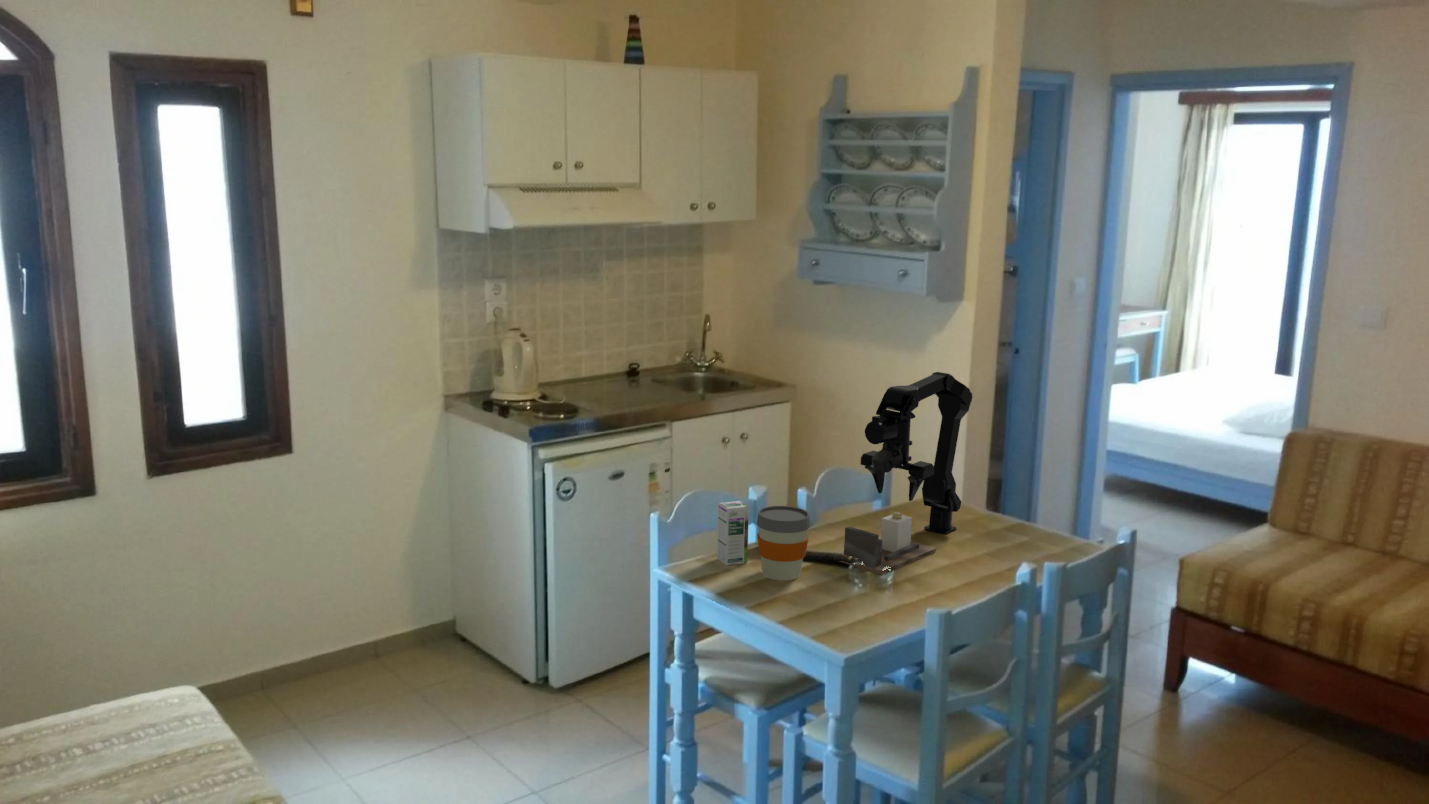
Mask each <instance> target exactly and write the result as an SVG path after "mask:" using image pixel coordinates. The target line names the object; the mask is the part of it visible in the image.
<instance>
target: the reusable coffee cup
mask: <svg viewBox="0 0 1429 804" xmlns="http://www.w3.org/2000/svg"><path fill="white" fill-rule="evenodd" d="M756 525H757V527H758V528H757V529H758V533H757V545H758V554H759V556H760V558H761V560H760V561H761V562H760V563H761V570H762V571H761V572H762V576H764V577H765V578H767V579H769V580H774V581H779V582H784V581H785V582H787V581H793V580H796V579H798V578H800V576H801V572H802V566H803V562H804V561H803V560H804V558H805V557H806V553H807V548H808V543H809V535H808V534H809V529H810V527H811V517H810V513H809V511H808V510H805V509H803V508H801V507H796V506H790V505H771V506H770V505H769V506H767V507H766V506H765V507H762V508H761V509H759V510H758V512H757V519H756Z"/></svg>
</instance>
